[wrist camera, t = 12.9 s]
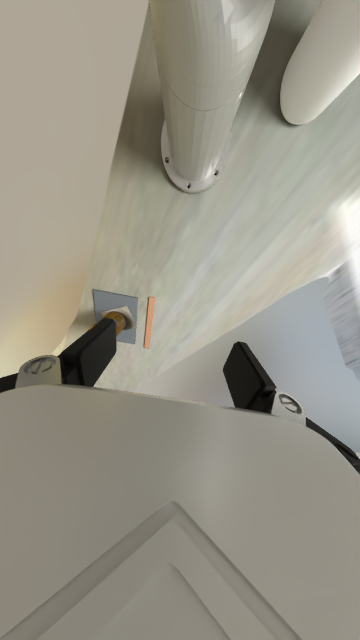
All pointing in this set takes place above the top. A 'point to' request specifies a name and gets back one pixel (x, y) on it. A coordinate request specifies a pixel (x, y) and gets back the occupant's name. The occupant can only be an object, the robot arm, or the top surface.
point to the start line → (149, 321)
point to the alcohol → (322, 61)
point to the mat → (114, 301)
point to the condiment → (120, 319)
